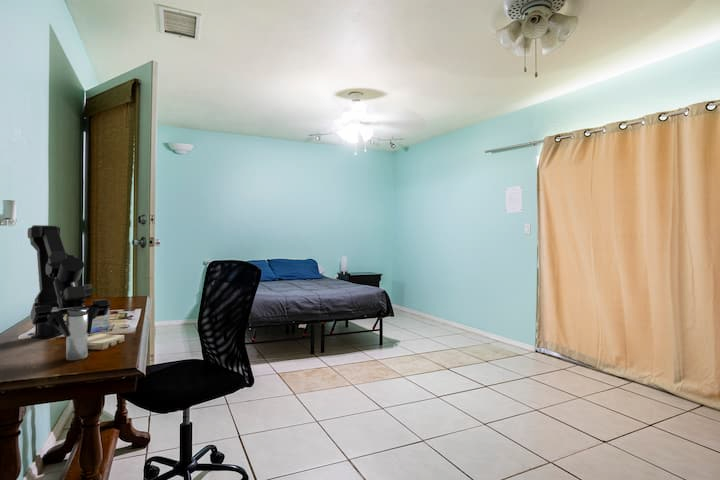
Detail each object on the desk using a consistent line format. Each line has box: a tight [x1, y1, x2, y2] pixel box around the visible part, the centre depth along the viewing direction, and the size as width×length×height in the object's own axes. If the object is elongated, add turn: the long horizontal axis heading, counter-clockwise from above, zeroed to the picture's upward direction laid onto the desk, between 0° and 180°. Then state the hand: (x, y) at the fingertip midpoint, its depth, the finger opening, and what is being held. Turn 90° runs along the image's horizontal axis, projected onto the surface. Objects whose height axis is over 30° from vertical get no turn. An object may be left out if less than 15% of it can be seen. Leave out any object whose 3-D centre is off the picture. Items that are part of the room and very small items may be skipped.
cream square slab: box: [88, 333, 125, 351], centre depth 132 cm, size 10×10×2 cm
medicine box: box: [89, 308, 110, 334], centre depth 149 cm, size 8×4×9 cm, turn 168°
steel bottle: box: [65, 309, 89, 361], centre depth 118 cm, size 5×5×14 cm
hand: (78, 334), depth 118 cm, fingers closed on steel bottle, 5 cm apart
